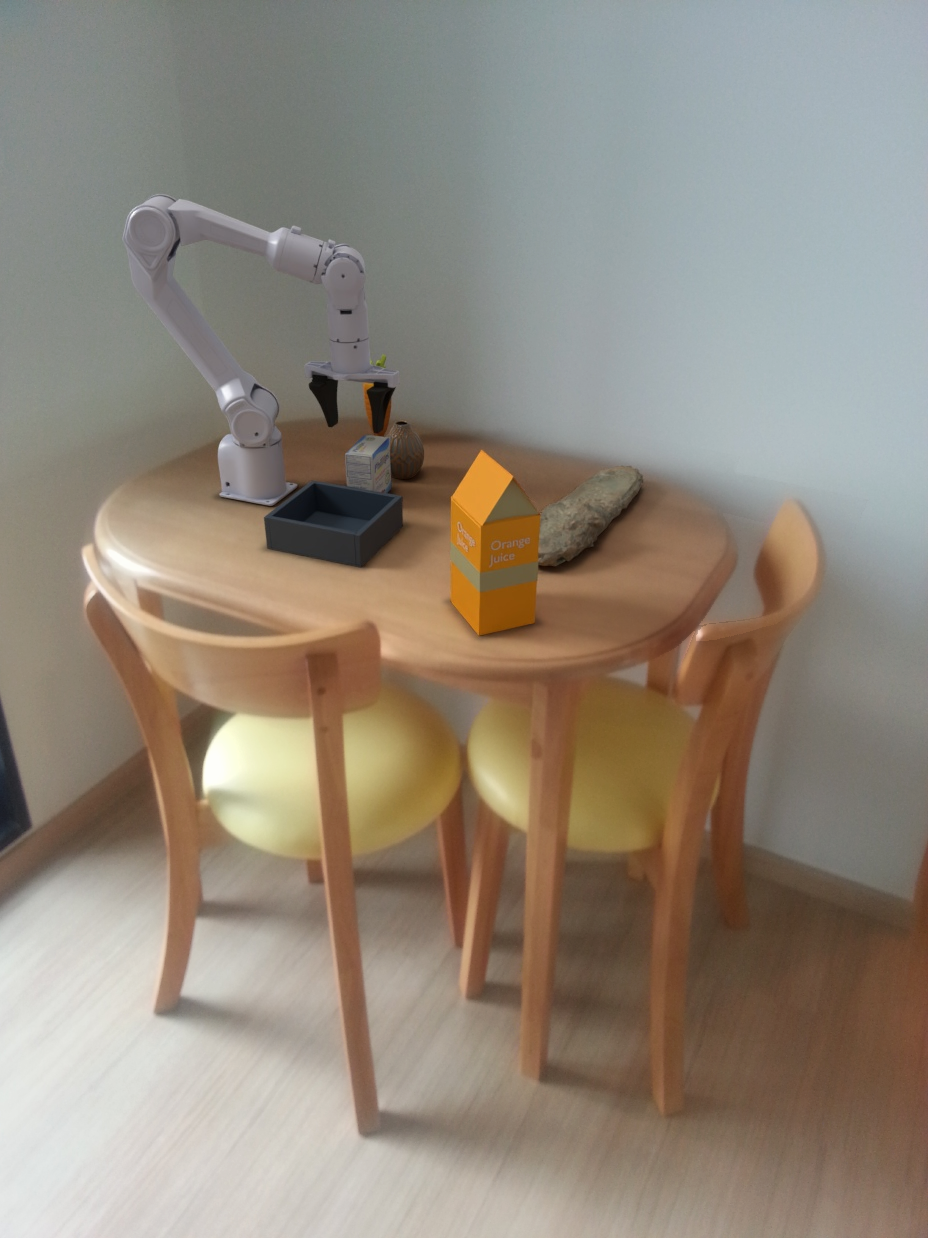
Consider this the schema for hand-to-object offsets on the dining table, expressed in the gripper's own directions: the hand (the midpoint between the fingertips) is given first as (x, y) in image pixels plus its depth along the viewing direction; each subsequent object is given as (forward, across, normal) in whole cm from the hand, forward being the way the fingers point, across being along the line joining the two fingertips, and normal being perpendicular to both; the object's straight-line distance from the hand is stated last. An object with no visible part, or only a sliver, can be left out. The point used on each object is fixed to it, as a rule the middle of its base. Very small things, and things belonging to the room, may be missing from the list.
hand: (355, 428), depth 145 cm
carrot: (+11, -7, +21) cm, 24 cm away
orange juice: (+11, +31, -26) cm, 42 cm away
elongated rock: (+11, +36, +3) cm, 37 cm away
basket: (+10, +4, -15) cm, 19 cm away
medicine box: (+11, +2, -1) cm, 11 cm away
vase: (+11, +3, +9) cm, 14 cm away
